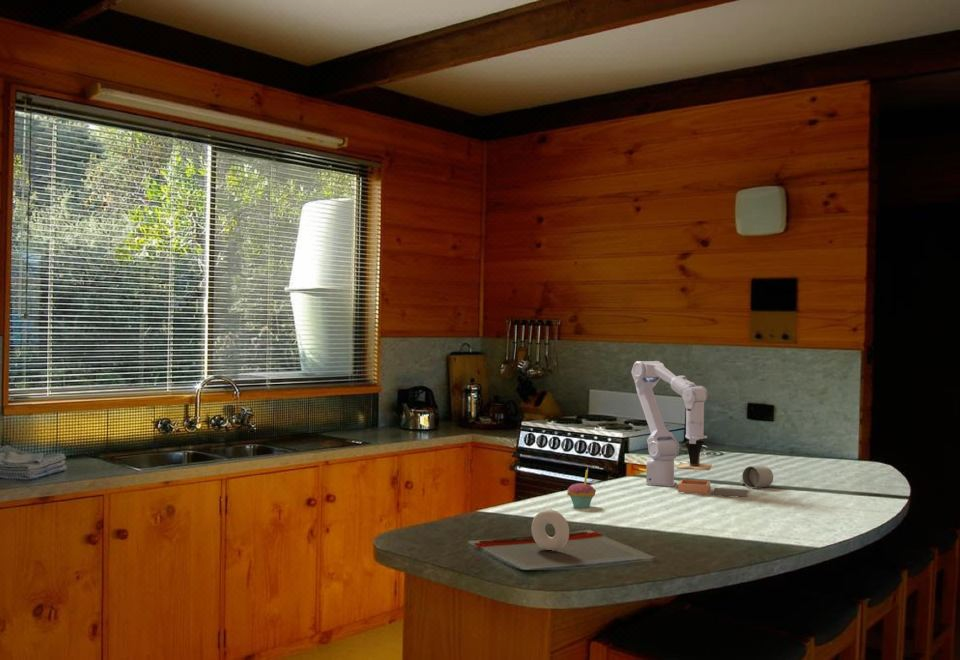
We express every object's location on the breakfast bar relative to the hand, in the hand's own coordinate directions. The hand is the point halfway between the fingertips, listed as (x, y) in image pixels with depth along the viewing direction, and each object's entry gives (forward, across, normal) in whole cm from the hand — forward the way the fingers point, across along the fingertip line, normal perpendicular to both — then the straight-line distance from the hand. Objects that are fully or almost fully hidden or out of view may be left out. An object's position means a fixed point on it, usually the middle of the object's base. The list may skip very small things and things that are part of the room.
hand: (694, 463), depth 294 cm
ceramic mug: (+10, +17, -19) cm, 27 cm away
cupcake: (+10, -40, +29) cm, 51 cm away
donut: (+10, -96, +24) cm, 100 cm away
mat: (+9, +1, -12) cm, 15 cm away
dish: (+9, 0, 0) cm, 9 cm away
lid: (+1, 0, 0) cm, 1 cm away
